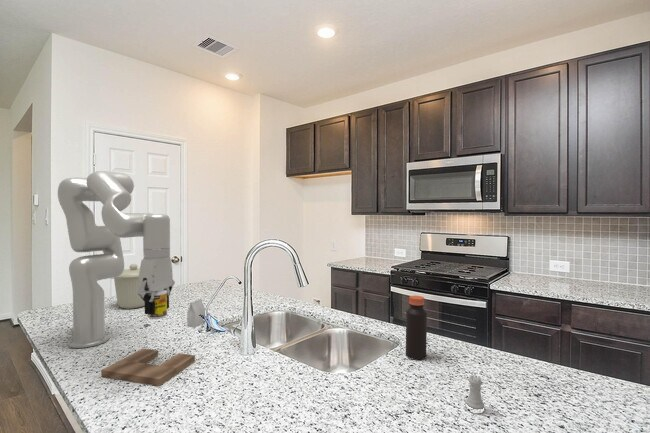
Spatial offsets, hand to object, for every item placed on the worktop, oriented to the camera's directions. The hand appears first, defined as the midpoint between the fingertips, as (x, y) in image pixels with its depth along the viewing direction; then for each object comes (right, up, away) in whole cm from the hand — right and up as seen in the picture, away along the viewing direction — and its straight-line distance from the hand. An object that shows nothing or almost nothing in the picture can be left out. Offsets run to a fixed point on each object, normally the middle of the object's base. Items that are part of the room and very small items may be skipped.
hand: (157, 310), depth 109 cm
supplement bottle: (0, -2, 0) cm, 2 cm away
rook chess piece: (+90, -19, -23) cm, 95 cm away
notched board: (-1, -17, -3) cm, 17 cm away
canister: (-43, -15, +64) cm, 78 cm away
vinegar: (+83, -18, +8) cm, 86 cm away
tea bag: (-2, -16, +38) cm, 41 cm away
